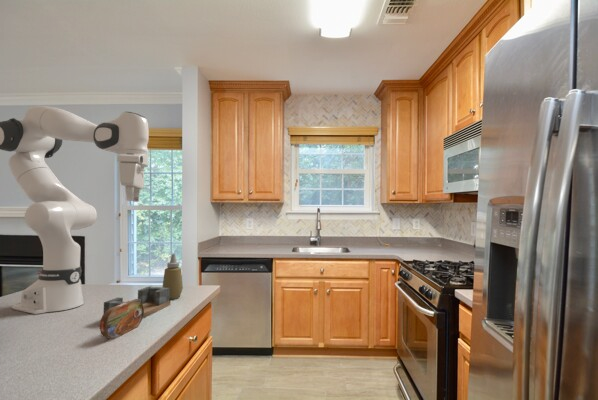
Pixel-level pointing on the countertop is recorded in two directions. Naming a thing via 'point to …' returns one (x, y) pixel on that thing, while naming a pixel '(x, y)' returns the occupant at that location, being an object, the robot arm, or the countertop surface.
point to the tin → (121, 319)
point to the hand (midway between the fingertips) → (133, 201)
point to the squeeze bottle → (173, 278)
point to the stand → (146, 300)
